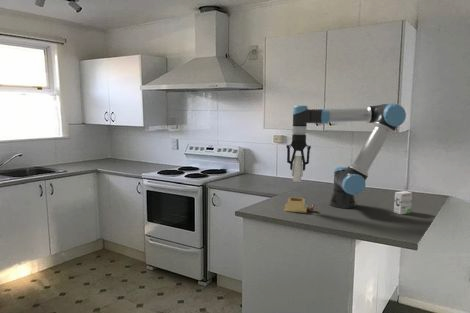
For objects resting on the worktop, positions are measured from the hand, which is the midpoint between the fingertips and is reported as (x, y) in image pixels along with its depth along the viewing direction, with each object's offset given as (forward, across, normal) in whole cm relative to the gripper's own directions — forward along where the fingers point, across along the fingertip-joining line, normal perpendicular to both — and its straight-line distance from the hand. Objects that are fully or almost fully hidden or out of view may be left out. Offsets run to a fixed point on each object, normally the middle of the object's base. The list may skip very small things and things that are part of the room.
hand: (297, 175), depth 206 cm
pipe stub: (+3, 0, 0) cm, 3 cm away
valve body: (+19, -2, 0) cm, 20 cm away
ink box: (+20, -58, -14) cm, 63 cm away
